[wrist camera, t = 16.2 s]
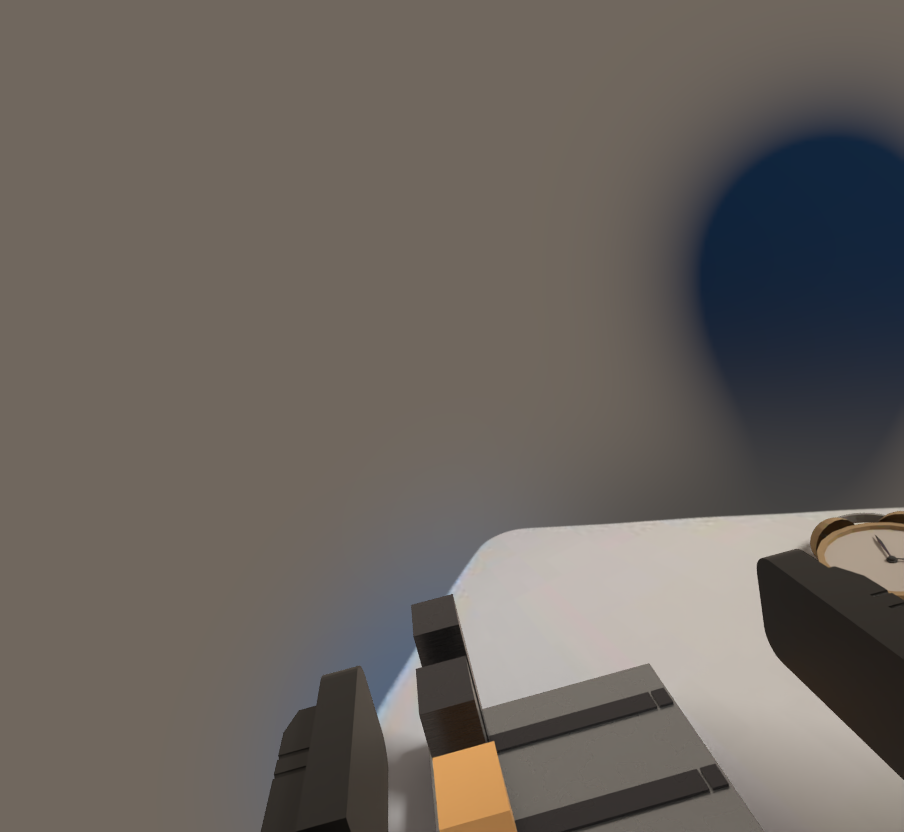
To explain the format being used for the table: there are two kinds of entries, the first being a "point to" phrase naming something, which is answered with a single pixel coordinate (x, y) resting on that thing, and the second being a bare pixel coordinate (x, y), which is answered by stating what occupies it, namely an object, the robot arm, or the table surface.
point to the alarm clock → (864, 547)
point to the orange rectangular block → (472, 791)
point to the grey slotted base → (576, 744)
